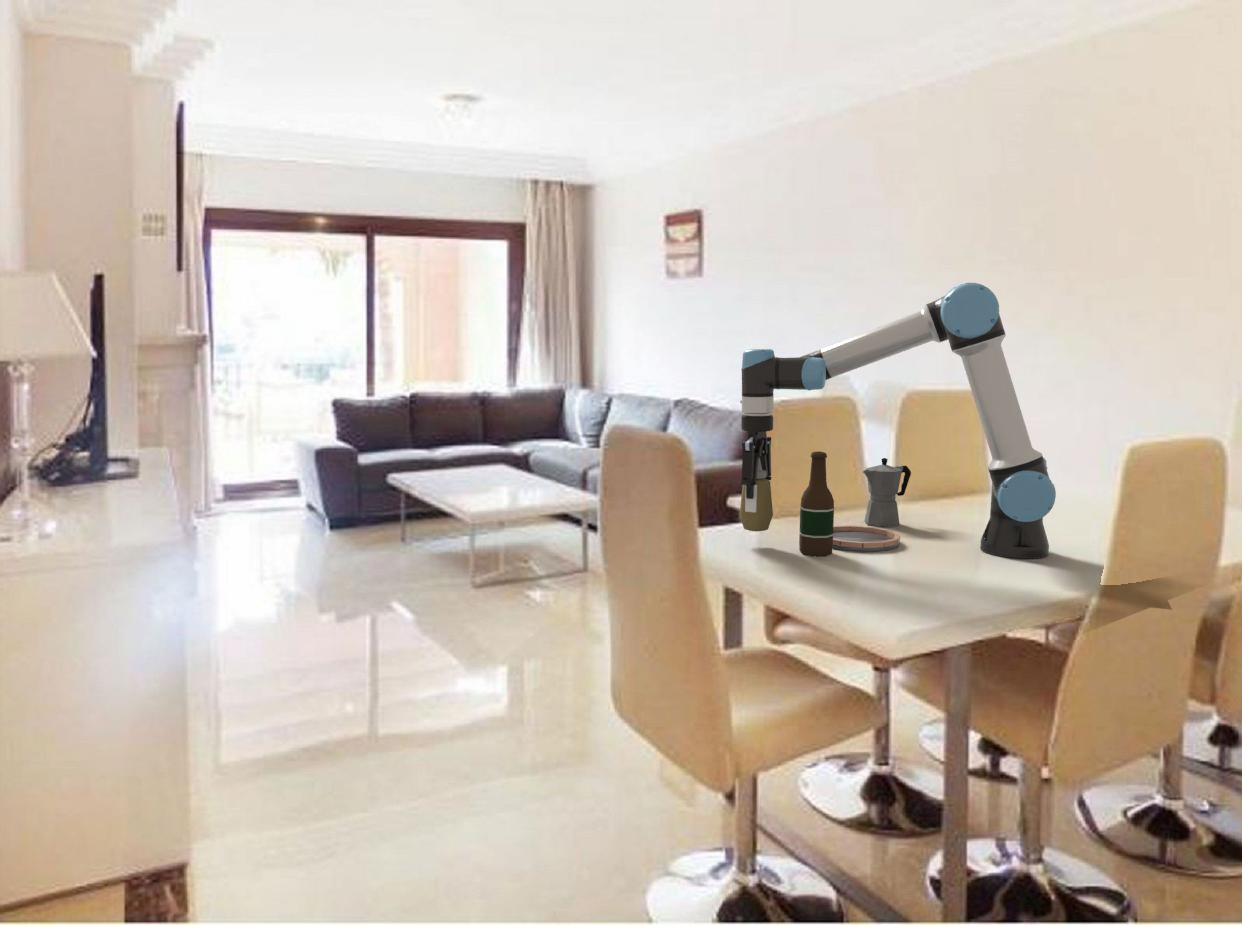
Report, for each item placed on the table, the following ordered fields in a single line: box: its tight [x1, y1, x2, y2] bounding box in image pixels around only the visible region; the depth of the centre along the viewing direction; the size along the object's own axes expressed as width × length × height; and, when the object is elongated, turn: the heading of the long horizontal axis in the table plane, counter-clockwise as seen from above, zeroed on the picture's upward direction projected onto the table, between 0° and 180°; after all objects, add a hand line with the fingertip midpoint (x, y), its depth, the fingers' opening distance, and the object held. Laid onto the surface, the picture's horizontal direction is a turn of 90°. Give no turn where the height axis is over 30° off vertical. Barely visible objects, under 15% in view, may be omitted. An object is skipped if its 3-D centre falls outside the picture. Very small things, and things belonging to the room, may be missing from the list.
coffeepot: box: [862, 457, 912, 528], centre depth 262 cm, size 15×9×18 cm, turn 113°
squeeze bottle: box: [739, 458, 774, 532], centre depth 234 cm, size 8×8×18 cm
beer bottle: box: [798, 451, 835, 557], centre depth 227 cm, size 8×8×24 cm
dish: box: [832, 524, 901, 553], centre depth 240 cm, size 20×20×2 cm
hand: (756, 509), depth 234 cm, fingers closed on squeeze bottle, 6 cm apart
